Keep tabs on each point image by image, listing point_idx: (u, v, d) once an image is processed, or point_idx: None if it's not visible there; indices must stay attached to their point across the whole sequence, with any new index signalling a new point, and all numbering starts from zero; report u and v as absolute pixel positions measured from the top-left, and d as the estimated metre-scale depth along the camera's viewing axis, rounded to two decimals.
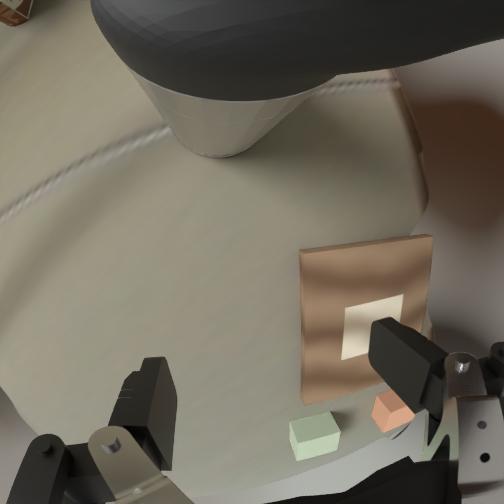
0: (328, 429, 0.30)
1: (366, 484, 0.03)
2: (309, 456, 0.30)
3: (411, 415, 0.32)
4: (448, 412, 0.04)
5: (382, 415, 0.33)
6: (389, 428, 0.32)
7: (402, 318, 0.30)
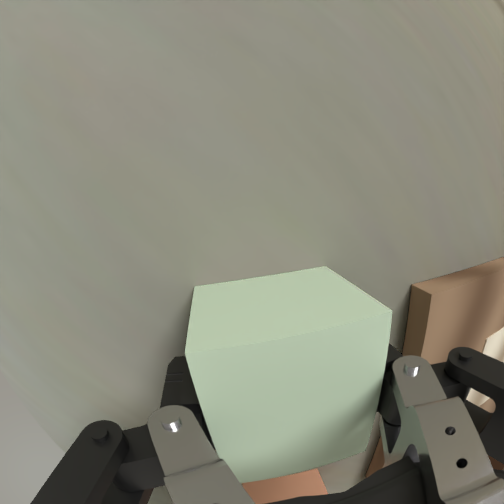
0: None
1: (365, 484, 0.03)
2: (220, 409, 0.06)
3: None
4: (408, 421, 0.04)
5: None
6: None
7: None
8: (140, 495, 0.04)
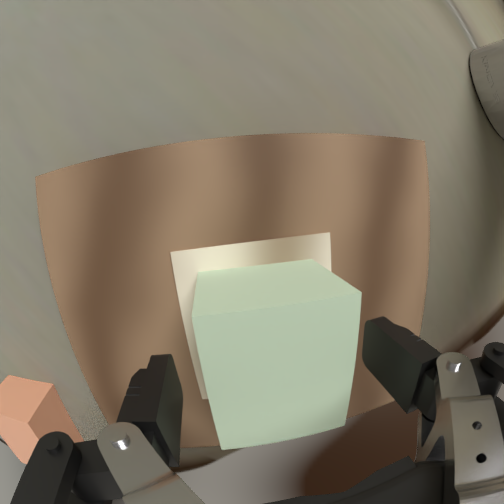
0: None
1: (365, 484, 0.03)
2: (217, 368, 0.08)
3: None
4: (442, 414, 0.04)
5: (15, 402, 0.10)
6: None
7: None
8: None
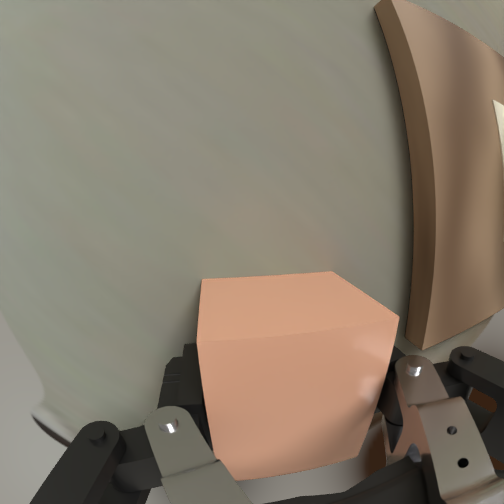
0: None
1: (365, 484, 0.03)
2: None
3: (261, 468, 0.07)
4: (410, 421, 0.04)
5: (305, 305, 0.07)
6: (225, 378, 0.06)
7: None
8: (138, 495, 0.04)
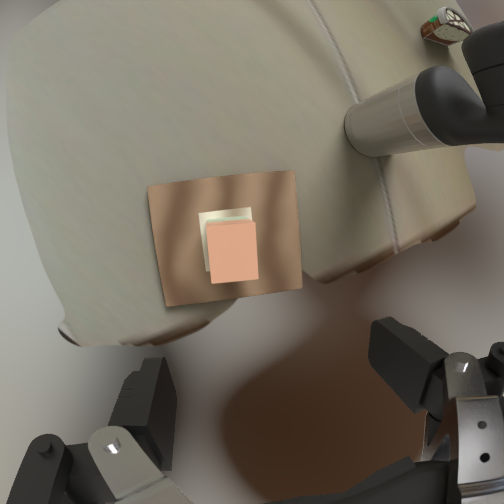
0: None
1: (365, 484, 0.03)
2: None
3: (224, 275, 0.29)
4: (448, 412, 0.04)
5: (233, 222, 0.29)
6: (212, 236, 0.28)
7: None
8: None
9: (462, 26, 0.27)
